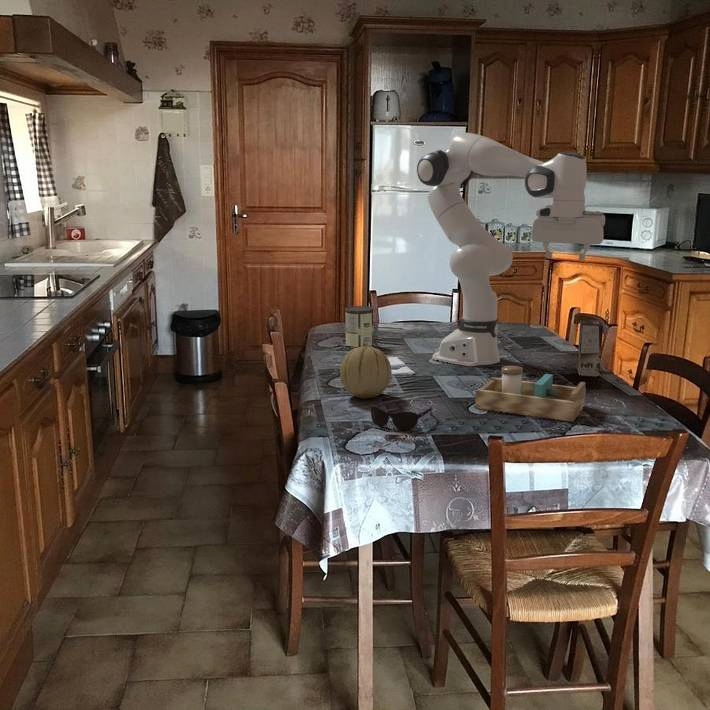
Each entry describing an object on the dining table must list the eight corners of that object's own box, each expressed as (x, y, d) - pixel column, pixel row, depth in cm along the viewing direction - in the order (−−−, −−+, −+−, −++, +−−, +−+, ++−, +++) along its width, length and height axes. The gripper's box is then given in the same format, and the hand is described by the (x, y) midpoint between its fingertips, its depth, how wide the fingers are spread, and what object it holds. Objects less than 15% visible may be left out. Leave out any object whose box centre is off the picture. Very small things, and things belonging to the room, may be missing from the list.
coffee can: (355, 342, 291) (355, 304, 287) (379, 345, 285) (379, 307, 282) (339, 347, 282) (339, 309, 279) (364, 351, 277) (364, 311, 274)
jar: (498, 402, 213) (499, 369, 211) (503, 397, 218) (504, 364, 216) (519, 404, 211) (520, 371, 209) (523, 399, 216) (525, 366, 214)
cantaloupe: (352, 407, 213) (352, 353, 209) (332, 393, 226) (331, 342, 222) (401, 400, 218) (401, 348, 215) (378, 387, 231) (378, 337, 228)
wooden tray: (475, 408, 212) (476, 383, 210) (491, 394, 224) (492, 370, 223) (573, 421, 200) (574, 395, 198) (584, 406, 213) (586, 381, 211)
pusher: (533, 409, 206) (534, 384, 204) (544, 398, 216) (545, 373, 214) (552, 412, 204) (554, 386, 202) (562, 400, 214) (564, 375, 212)
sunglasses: (365, 425, 199) (365, 406, 198) (392, 409, 212) (393, 391, 211) (414, 434, 192) (414, 414, 191) (439, 416, 206) (440, 398, 205)
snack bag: (399, 361, 264) (399, 355, 264) (416, 377, 245) (416, 370, 244) (343, 365, 260) (343, 358, 260) (356, 380, 241) (356, 374, 240)
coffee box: (600, 376, 242) (603, 325, 239) (578, 375, 244) (581, 324, 240) (597, 369, 251) (600, 320, 247) (576, 368, 252) (579, 319, 248)
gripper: (607, 210, 223) (604, 259, 226) (536, 209, 232) (533, 256, 235) (603, 212, 218) (600, 261, 221) (530, 210, 227) (528, 258, 230)
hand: (565, 258), depth 228 cm, fingers open, 8 cm apart
